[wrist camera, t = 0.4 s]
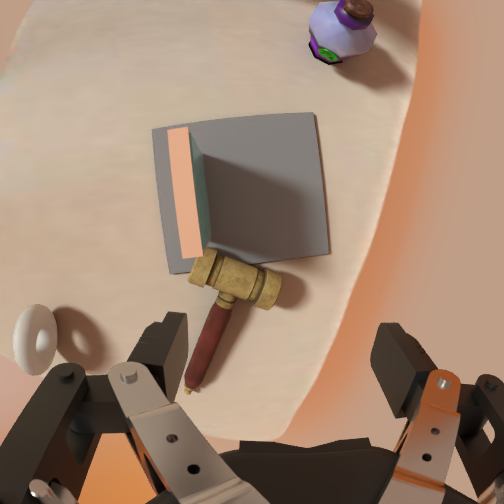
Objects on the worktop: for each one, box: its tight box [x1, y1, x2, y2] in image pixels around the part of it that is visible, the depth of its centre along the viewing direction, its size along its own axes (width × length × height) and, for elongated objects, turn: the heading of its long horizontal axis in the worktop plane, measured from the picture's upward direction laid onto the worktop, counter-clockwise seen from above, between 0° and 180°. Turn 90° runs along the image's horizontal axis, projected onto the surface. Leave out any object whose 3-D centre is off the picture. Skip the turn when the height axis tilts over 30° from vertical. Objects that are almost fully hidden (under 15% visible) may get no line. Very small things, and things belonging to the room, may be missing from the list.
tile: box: [167, 127, 212, 259], centre depth 30 cm, size 10×2×14 cm, turn 7°
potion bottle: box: [308, 0, 377, 65], centre depth 29 cm, size 9×9×12 cm
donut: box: [13, 304, 57, 376], centre depth 34 cm, size 10×3×10 cm, turn 170°
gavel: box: [184, 246, 282, 395], centre depth 38 cm, size 21×5×10 cm
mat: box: [152, 112, 329, 274], centre depth 37 cm, size 18×20×1 cm
